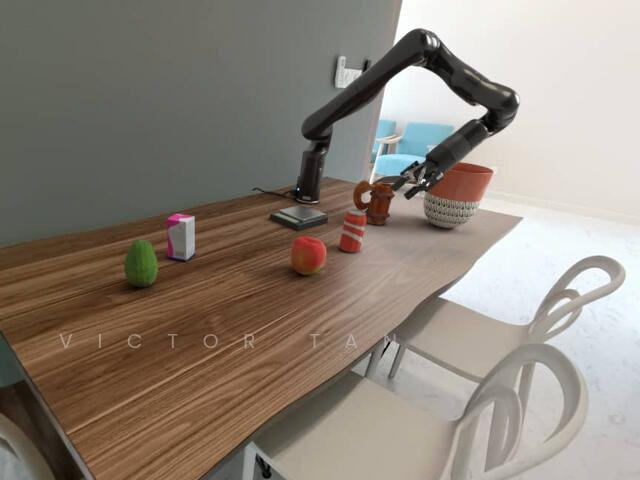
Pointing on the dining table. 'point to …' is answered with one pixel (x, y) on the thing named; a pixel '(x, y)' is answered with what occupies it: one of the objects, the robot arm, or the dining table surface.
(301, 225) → the scale
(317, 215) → the scale pan
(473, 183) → the planter
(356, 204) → the mug
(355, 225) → the beverage can
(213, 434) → the dining table surface
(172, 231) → the supplement box
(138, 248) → the avocado
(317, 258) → the apple
